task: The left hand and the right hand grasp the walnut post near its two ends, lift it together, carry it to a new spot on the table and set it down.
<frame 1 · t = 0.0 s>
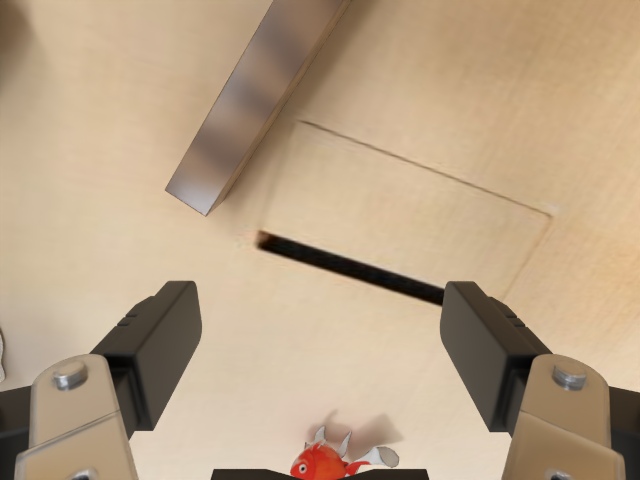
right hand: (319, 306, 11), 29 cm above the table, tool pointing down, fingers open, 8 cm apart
fish: (345, 436, 53), on the table
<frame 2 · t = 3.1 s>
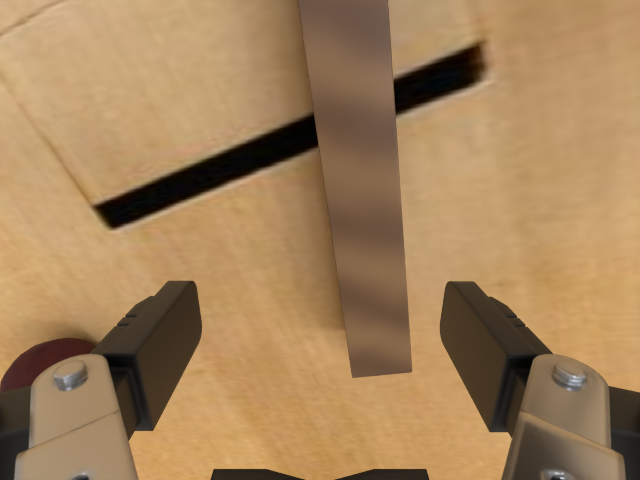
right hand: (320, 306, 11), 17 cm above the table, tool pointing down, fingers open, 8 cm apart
potato: (85, 352, 34), on the table
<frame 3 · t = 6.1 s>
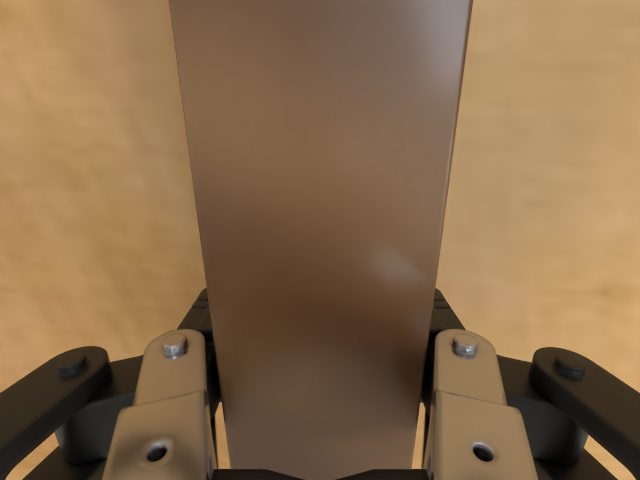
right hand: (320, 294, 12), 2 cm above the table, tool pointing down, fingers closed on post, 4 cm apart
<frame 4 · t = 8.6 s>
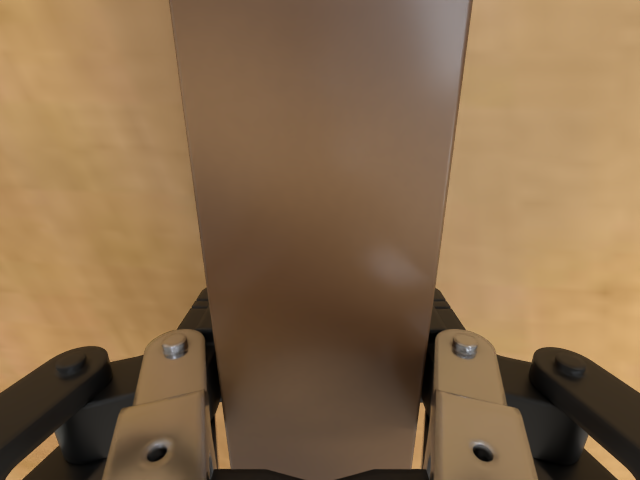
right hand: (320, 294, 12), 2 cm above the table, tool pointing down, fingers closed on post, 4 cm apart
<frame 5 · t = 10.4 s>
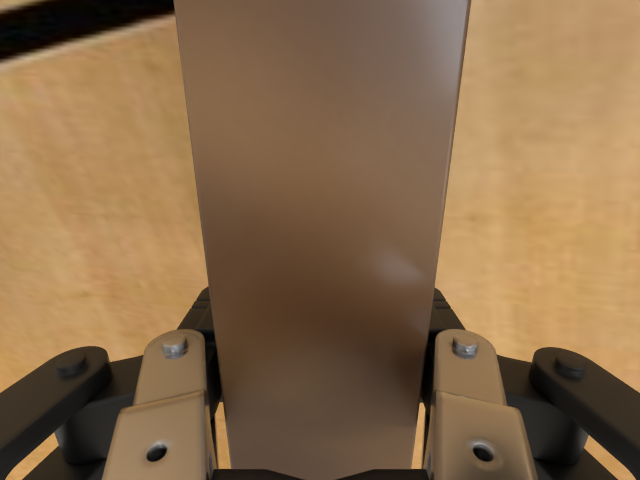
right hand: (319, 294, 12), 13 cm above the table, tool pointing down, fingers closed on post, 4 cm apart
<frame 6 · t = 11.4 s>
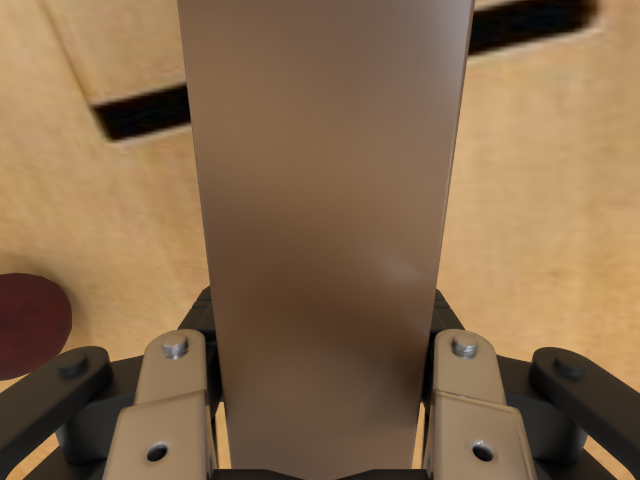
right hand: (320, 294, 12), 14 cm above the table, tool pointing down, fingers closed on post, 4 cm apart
potato: (46, 298, 27), on the table
when the left hand's fingers open (5 cm above the table, at t = 14.6 s): post drops 1 cm, on the table.
when the right hand's fingers open (3 cm above the table, at t = 14.7 s): post drops 1 cm, on the table.
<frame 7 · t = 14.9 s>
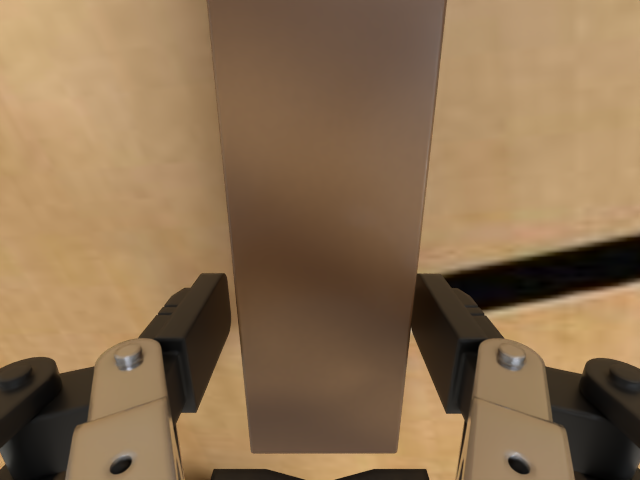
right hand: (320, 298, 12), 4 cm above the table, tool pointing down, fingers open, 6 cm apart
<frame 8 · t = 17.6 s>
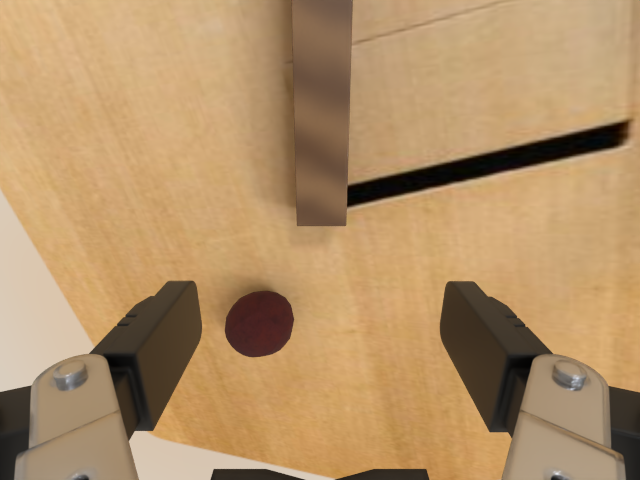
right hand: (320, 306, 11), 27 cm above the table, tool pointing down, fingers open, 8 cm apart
potato: (266, 305, 42), on the table
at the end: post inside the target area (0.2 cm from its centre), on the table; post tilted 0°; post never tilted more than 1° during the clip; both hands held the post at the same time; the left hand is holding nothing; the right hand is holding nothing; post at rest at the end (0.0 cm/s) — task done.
